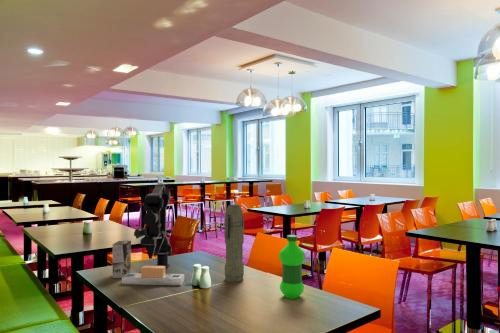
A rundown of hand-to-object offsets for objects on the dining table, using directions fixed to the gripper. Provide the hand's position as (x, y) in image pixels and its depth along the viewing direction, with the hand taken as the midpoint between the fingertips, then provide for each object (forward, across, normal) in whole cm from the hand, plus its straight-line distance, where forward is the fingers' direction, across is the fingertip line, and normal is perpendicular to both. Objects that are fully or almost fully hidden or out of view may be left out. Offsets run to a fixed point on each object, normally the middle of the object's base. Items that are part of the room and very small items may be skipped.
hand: (153, 256), depth 182 cm
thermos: (+12, -6, +36) cm, 39 cm away
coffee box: (+12, -9, -18) cm, 24 cm away
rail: (+12, 0, 0) cm, 12 cm away
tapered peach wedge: (+11, 0, 0) cm, 11 cm away
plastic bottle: (+12, +15, +62) cm, 65 cm away
